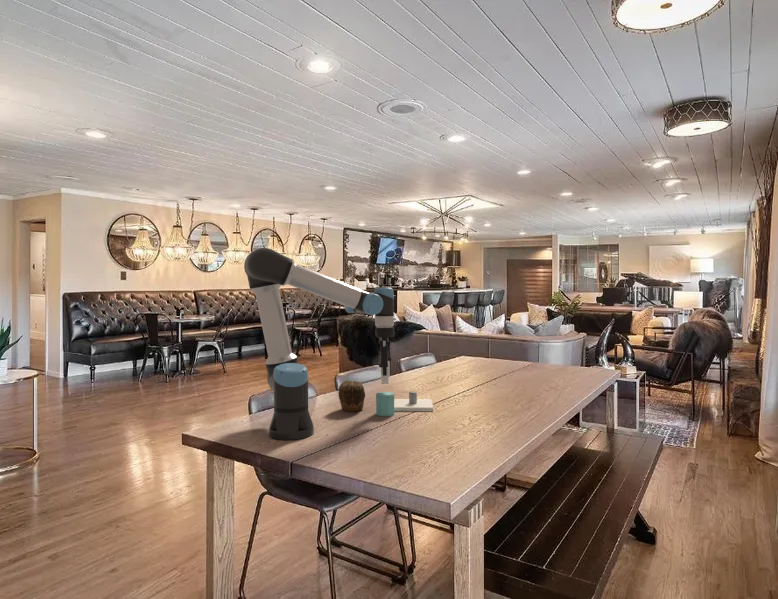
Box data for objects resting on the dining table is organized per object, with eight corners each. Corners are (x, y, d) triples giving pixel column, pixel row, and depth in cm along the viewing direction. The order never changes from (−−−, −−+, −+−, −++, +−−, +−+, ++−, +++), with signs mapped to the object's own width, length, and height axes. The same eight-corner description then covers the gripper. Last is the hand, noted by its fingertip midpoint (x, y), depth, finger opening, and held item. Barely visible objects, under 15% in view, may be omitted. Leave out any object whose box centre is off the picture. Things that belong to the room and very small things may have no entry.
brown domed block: (333, 411, 204) (332, 382, 203) (347, 405, 213) (347, 377, 213) (356, 414, 198) (355, 384, 198) (370, 408, 208) (369, 379, 208)
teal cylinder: (394, 416, 196) (394, 395, 195) (375, 416, 196) (375, 395, 196) (394, 411, 203) (394, 391, 202) (376, 411, 203) (376, 391, 203)
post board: (433, 411, 203) (432, 396, 203) (393, 411, 204) (393, 396, 203) (431, 402, 218) (431, 388, 218) (394, 402, 219) (394, 388, 218)
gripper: (393, 329, 186) (394, 386, 186) (395, 323, 211) (396, 374, 211) (373, 329, 186) (374, 387, 187) (377, 324, 211) (378, 374, 212)
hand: (385, 380), depth 199 cm, fingers open, 13 cm apart
